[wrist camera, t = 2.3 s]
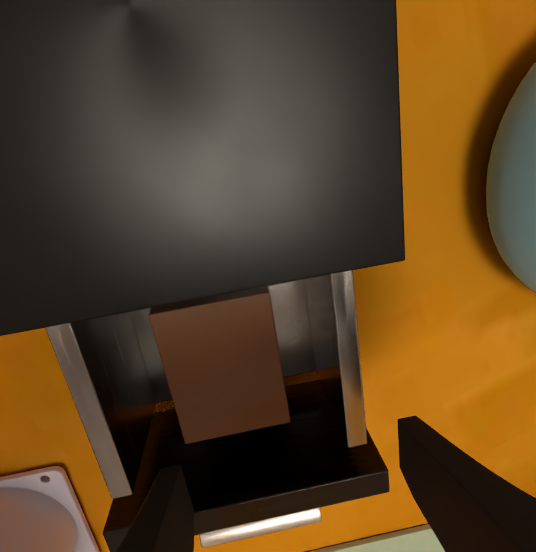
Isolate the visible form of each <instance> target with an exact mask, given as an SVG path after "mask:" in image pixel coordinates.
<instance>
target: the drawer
mask: <svg viewBox="0 0 536 552" xmlns="http://www.w3.org/2000/svg"><path fill="white" fill-rule="evenodd" d="M268 289H269V292H270V298H271V304H272V310H273V316H274V322H275V328H276V334H277V340H278V346H279V353H280V359H281V365H282V371H283V377H287V376H292V375H297V374H302V373H307V372H312V371H316V373H317V375H318V378H319V380H315V381H310V382H305V383H300V384H295V385H290V386H285V389H286V395H287V401H288V407H289V413H290V419H291V421H290V422H289V423H284V424H279V425H275V426H270V427H265V428H260V429H255V430H251V431H246V432H241V433H236V434H232V435H227V436H222V437H217V438H212V439H208V440H203V441H198V442H193V443H188V444H185V442H184V438H183V435H182V431H181V428H180V424H179V421H178V417H177V414H176V410H175V409H172V410H167V411H162V412H157V413H154V410H155V406H156V403H158V402H163V401H168V400H172V396H171V393H170V389H169V386H168V382H167V379H166V375H165V372H164V368H163V365H162V361H161V358H160V354H159V351H158V347H157V344H156V340H155V337H154V333H153V330H152V326H151V323H150V319H149V313H150V311H151V308H147V309H142V310H136V311H131V312H125V313H120V314H115V315H109V316H104V317H99V318H93V319H88V320H83V321H77V322H72V323H66V324H61V325H56V326H50V327H45V328H46V331H47V334H48V336H49V339H50V341H51V344H52V346H53V349H54V351H55V354H56V357H57V359H58V362H59V364H60V367H61V369H62V372H63V375H64V377H65V380H66V382H67V385H68V387H69V390H70V392H71V395H72V398H73V400H74V403H75V405H76V408H77V410H78V413H79V415H80V418H81V421H82V423H83V426H84V428H85V431H86V433H87V436H88V439H89V441H90V444H91V446H92V449H93V451H94V454H95V456H96V459H97V462H98V464H99V467H100V469H101V472H102V474H103V477H104V479H105V482H106V485H107V487H108V490H109V492H110V495H111V497H112V499H113V501H112V505H111V508H110V511H109V514H108V517H107V521H106V524H105V527H104V530H103V535H104V538H105V540H106V542H107V545H108V547H109V550H110V552H116V550H117V549H118V547H119V545H120V544H121V542H122V540H123V539H124V537H125V535H126V534H127V532H128V530H129V528H130V526H131V525H132V523H133V521H134V519H135V517H136V515H137V514H138V512H139V510H140V508H141V506H142V504H143V502H144V500H145V499H146V497H147V495H148V493H149V491H150V489H151V487H152V485H153V483H154V481H155V479H156V477H157V474H158V472H159V471H160V470H161V468H166V467H171V466H175V465H181V468H182V472H183V475H184V478H185V482H186V485H187V489H188V492H189V496H190V499H191V503H192V506H193V509H194V535H198V534H199V536H200V542H201V545H202V547H203V548H206V547H210V546H214V545H219V544H223V543H228V542H232V541H237V540H241V539H246V538H250V537H254V536H259V535H263V534H268V533H272V532H277V531H281V530H285V529H290V528H294V527H299V526H303V525H308V524H312V523H316V522H321V513H320V508H319V507H324V506H328V505H333V504H337V503H342V502H346V501H351V500H355V499H360V498H364V497H368V496H373V495H377V494H382V493H386V492H389V476H388V469H387V467H386V465H385V463H384V461H383V459H382V457H381V455H380V454H379V452H378V450H377V448H376V446H375V444H374V442H373V440H372V438H371V436H370V434H369V432H368V430H367V428H366V423H365V411H364V399H363V387H362V375H361V363H360V351H359V339H358V328H357V316H356V304H355V292H354V280H353V270H351V271H345V272H340V273H335V274H329V275H324V276H319V277H313V278H308V279H302V280H297V281H292V282H286V283H281V284H276V285H270V286H268Z"/></svg>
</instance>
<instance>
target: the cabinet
mask: <svg viewBox="0 0 536 552" xmlns="http://www.w3.org/2000/svg"><path fill="white" fill-rule="evenodd" d="M403 260H405V243H404V215H403V187H402V158H401V130H400V102H399V73H398V45H397V17H396V0H0V336H2V335H7V334H13V333H18V332H24V331H29V330H34V329H40V328H45V327H50V326H56V325H61V324H66V323H72V322H77V321H83V320H88V319H93V318H99V317H104V316H109V315H115V314H120V313H125V312H131V311H136V310H142V309H147V308H152V307H158V306H163V305H168V304H174V303H179V302H184V301H190V300H195V299H201V298H206V297H211V296H217V295H222V294H227V293H233V292H238V291H243V290H249V289H254V288H260V287H265V286H270V285H276V284H281V283H286V282H292V281H297V280H302V279H308V278H313V277H319V276H324V275H329V274H335V273H340V272H345V271H351V270H356V269H361V268H367V267H372V266H378V265H383V264H388V263H394V262H399V261H403Z"/></svg>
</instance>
